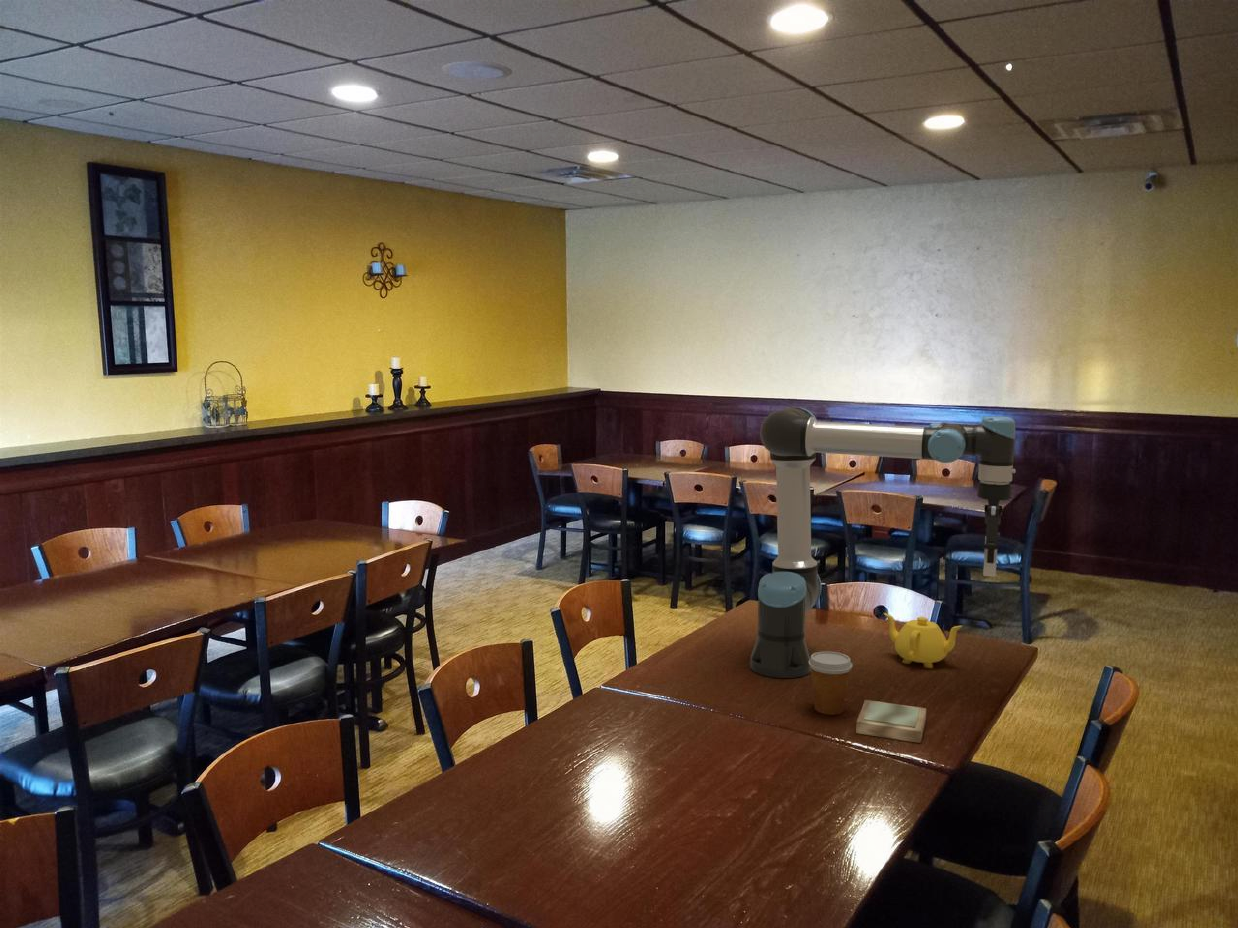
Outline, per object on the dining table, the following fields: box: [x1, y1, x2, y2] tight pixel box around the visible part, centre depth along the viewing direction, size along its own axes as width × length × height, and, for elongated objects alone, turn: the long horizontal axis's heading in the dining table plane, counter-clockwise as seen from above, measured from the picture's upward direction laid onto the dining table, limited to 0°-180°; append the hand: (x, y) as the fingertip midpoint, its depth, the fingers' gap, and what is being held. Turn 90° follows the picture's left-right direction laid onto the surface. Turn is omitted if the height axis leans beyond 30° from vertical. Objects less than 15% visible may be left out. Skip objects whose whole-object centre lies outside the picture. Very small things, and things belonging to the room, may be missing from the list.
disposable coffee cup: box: [809, 651, 853, 716], centre depth 209 cm, size 10×10×12 cm
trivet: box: [855, 699, 927, 744], centre depth 200 cm, size 13×13×3 cm
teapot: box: [883, 612, 963, 669], centre depth 239 cm, size 20×15×12 cm
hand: (989, 569), depth 225 cm, fingers open, 13 cm apart
